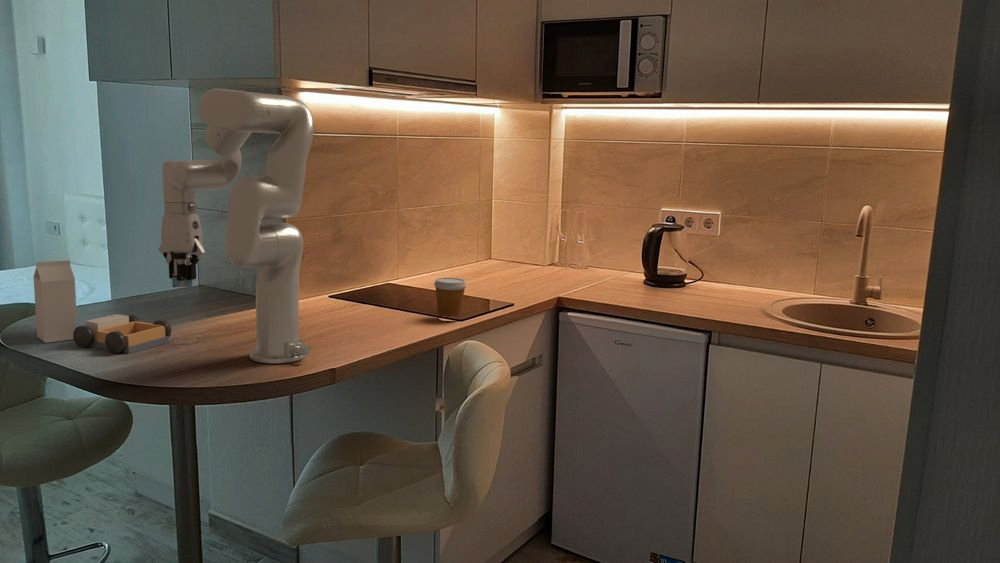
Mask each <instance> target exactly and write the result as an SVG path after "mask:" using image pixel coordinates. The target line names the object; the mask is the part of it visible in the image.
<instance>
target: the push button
mask: <svg viewBox="0 0 1000 563" xmlns="http://www.w3.org/2000/svg"><path fill="white" fill-rule="evenodd" d="M170 254H171V259H174V274H173V276H172V279H171V284H172V286H171V287H173V288H190V287H193V285H199V283H197V281H199V279H194V280H186V277H185V265H187V262H186V258H185V255H186V254H185V253H180V252H179V251H178V249H174V253H173V252H170ZM190 257H191V258H192V256H191V255H190ZM177 262H178V264H177ZM177 266H178V268H177ZM176 275H177V276H176ZM193 282H196V283H193Z"/></svg>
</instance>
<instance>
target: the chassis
mask: <svg viewBox="0 0 1000 563" xmlns="http://www.w3.org/2000/svg"><path fill="white" fill-rule="evenodd" d="M84 322H85V323H84V324H85V325H80V326H77V327H76V328H75V330H74V332H73V338H74V339H73V340H74V342H75V344H76V346H77V347H79V348H86V347H89V348H90V347H92V348H97V349H101V350H108V351H109V352H110V353H112V354H118V353H122V354H123V353H124V354H134V353H135V352H140V351H144V350H147V349H149V348H153V347H156V346H160V345H163V344H168V343H169V341H170V340H169V338H170V337H171V335H172V326H171V324H170V323H169V322H168V321H167V320H166V319H159V320H156V321H154V322H152V323H150V322H143V321H140V319H139V318H138V317H137V316H136V315H134V314H127V315H126V314H125V315H123V314H120V313H115V314H112V315H111V314H110V315H107V316H101V317H98V318H93V319H89V320H85V321H84Z"/></svg>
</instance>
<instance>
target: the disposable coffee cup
mask: <svg viewBox="0 0 1000 563" xmlns="http://www.w3.org/2000/svg"><path fill="white" fill-rule="evenodd" d="M433 285H434V287H435V298H436V306H437V316H438V315H440V316H447V317H451V316H458V315H460V316H461V313H462V306H463V300H464V296H465V289H466V287H467V283H466V280H465V279H463V278H458V277H439V278H436V279H435V282H434V284H433Z"/></svg>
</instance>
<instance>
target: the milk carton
mask: <svg viewBox="0 0 1000 563" xmlns="http://www.w3.org/2000/svg"><path fill="white" fill-rule="evenodd" d="M35 265H36V267H35V270H34V274H33V294H34V305H35V306H34V307H35V324H36V325H35V326H36V337H37V338H38V339H40V340H41V341H42V342H44V343H45V344H46V343H55V342H62V341H71V340H74V338H73V332H74V330H75V328H76V327H78V319H77V318H78V317H77V298H76V297H77V296H76V278H75V275H74V272H73V270H72V266H71V261H70V260H69V259H68V260H54V261H37V262H36V263H35Z"/></svg>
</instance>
